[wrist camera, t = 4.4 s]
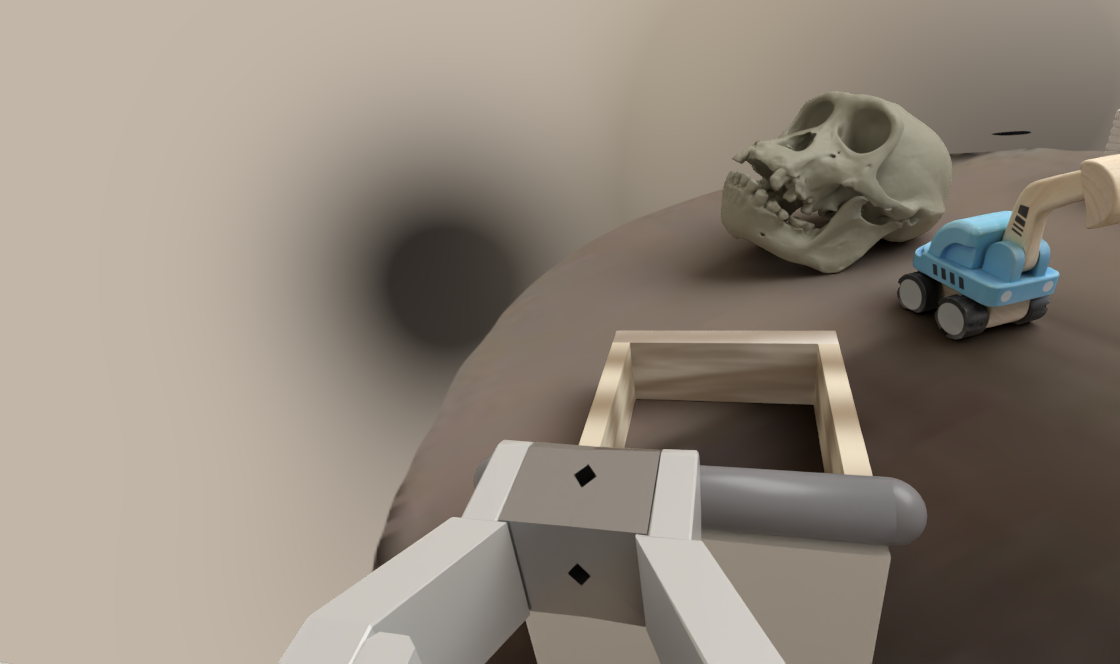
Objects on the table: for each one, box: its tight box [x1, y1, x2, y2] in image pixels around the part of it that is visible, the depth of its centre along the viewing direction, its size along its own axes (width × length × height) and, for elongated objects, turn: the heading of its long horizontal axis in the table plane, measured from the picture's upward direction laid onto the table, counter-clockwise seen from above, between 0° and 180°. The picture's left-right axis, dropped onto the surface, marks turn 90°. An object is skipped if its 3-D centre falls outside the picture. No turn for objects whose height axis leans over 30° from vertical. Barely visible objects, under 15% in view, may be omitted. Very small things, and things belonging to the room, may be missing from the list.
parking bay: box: [579, 331, 872, 476], centre depth 45 cm, size 20×18×6 cm
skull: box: [721, 91, 952, 273], centre depth 73 cm, size 18×21×28 cm
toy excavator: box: [897, 154, 1120, 340], centre depth 52 cm, size 9×17×17 cm, turn 12°
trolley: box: [474, 455, 927, 664], centre depth 26 cm, size 14×12×22 cm
